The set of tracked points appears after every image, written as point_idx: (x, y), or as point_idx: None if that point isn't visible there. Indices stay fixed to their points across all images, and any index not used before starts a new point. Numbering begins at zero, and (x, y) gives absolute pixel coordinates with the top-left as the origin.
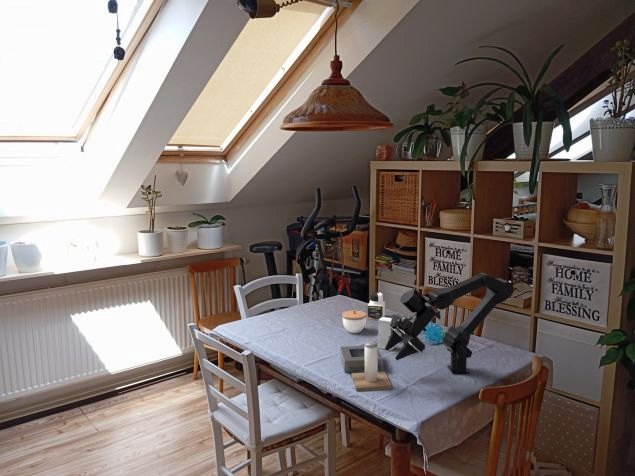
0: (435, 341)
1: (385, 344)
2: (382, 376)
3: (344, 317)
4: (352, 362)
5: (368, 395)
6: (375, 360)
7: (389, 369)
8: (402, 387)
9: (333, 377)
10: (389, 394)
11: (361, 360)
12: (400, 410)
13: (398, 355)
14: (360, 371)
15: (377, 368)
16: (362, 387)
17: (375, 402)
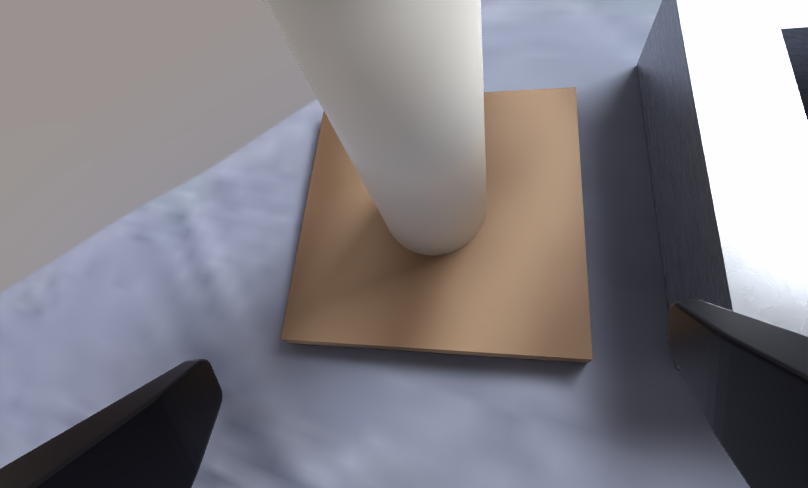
0: None
1: None
2: (477, 308)
3: None
4: (674, 48)
5: (256, 171)
6: (330, 121)
7: (715, 449)
8: (291, 440)
9: (558, 2)
10: (222, 302)
11: (693, 110)
12: (22, 314)
13: (118, 407)
14: (651, 166)
15: (398, 209)
16: (323, 135)
17: (164, 196)
